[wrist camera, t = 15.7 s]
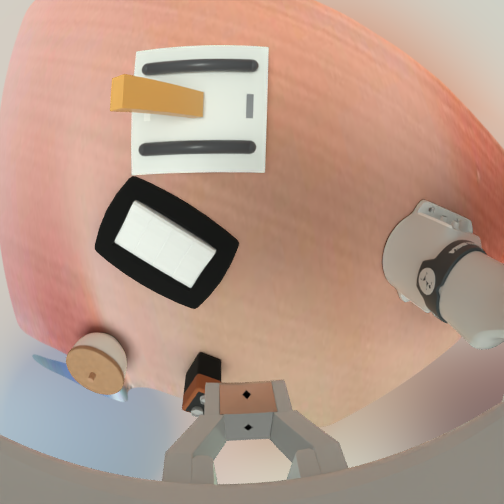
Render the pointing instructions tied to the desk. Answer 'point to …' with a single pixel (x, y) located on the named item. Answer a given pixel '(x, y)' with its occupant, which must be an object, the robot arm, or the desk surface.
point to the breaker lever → (154, 97)
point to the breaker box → (205, 111)
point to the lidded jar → (98, 363)
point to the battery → (200, 382)
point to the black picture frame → (165, 243)
